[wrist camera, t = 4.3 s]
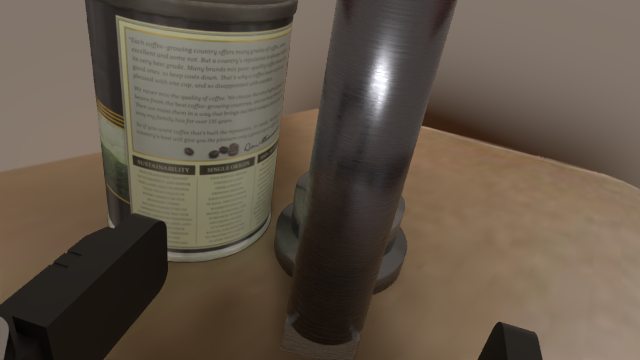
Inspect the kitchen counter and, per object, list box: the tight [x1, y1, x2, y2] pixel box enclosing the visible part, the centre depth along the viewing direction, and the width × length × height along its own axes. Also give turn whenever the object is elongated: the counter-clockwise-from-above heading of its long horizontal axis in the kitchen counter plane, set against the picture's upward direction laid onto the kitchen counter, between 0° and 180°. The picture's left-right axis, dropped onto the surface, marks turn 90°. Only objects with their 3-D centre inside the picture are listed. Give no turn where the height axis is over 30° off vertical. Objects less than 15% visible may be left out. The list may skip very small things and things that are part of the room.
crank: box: [281, 0, 457, 360], centre depth 22 cm, size 20×6×16 cm, turn 170°
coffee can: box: [85, 0, 298, 262], centre depth 26 cm, size 10×10×14 cm
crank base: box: [274, 203, 407, 295], centre depth 28 cm, size 8×8×2 cm
